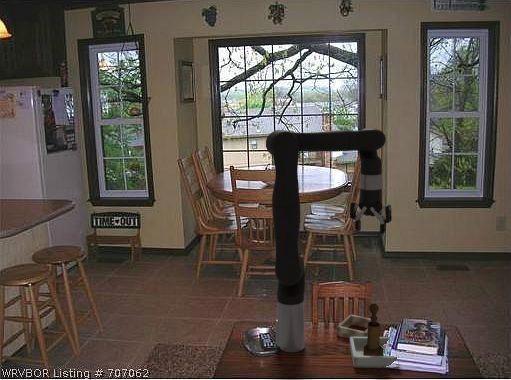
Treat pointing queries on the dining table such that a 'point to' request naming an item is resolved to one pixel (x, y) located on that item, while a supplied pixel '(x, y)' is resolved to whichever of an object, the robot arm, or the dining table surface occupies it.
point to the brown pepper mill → (373, 335)
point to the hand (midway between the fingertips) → (370, 232)
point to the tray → (368, 361)
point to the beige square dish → (348, 332)
